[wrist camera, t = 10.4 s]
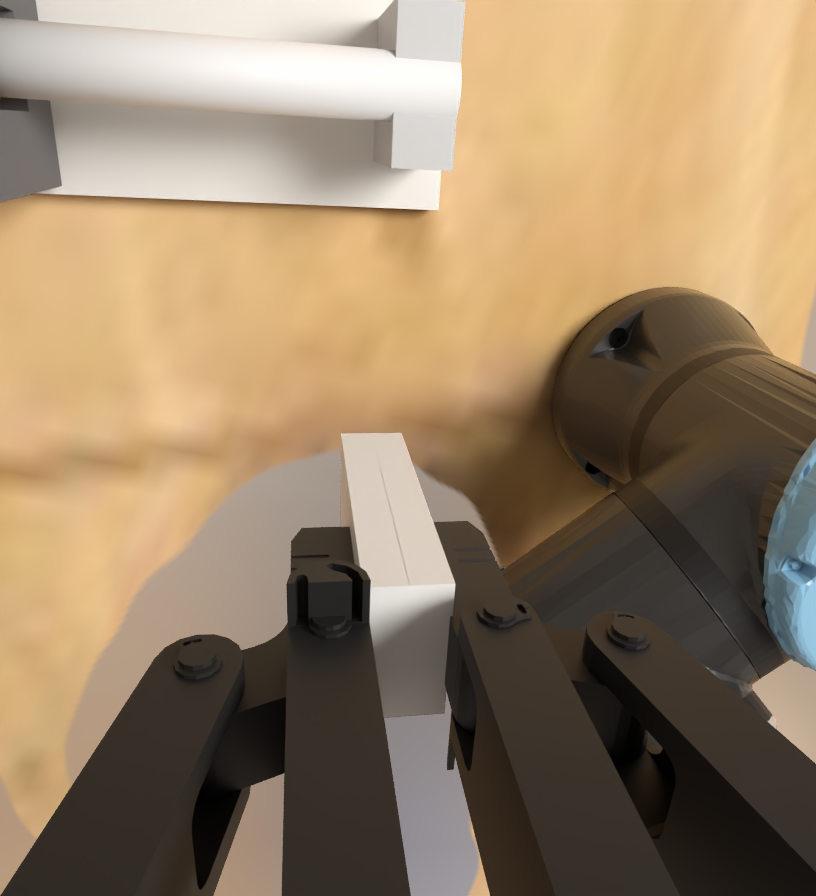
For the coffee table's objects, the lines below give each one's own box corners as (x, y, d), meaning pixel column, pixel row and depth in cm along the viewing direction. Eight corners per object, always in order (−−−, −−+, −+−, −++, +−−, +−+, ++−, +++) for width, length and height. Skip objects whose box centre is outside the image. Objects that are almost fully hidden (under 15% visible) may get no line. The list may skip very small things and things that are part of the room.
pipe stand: (450, -26, 37) (497, -69, 29) (434, 208, 42) (471, 227, 34) (-178, -90, 32) (-336, -165, 24) (-112, 184, 37) (-224, 201, 29)
